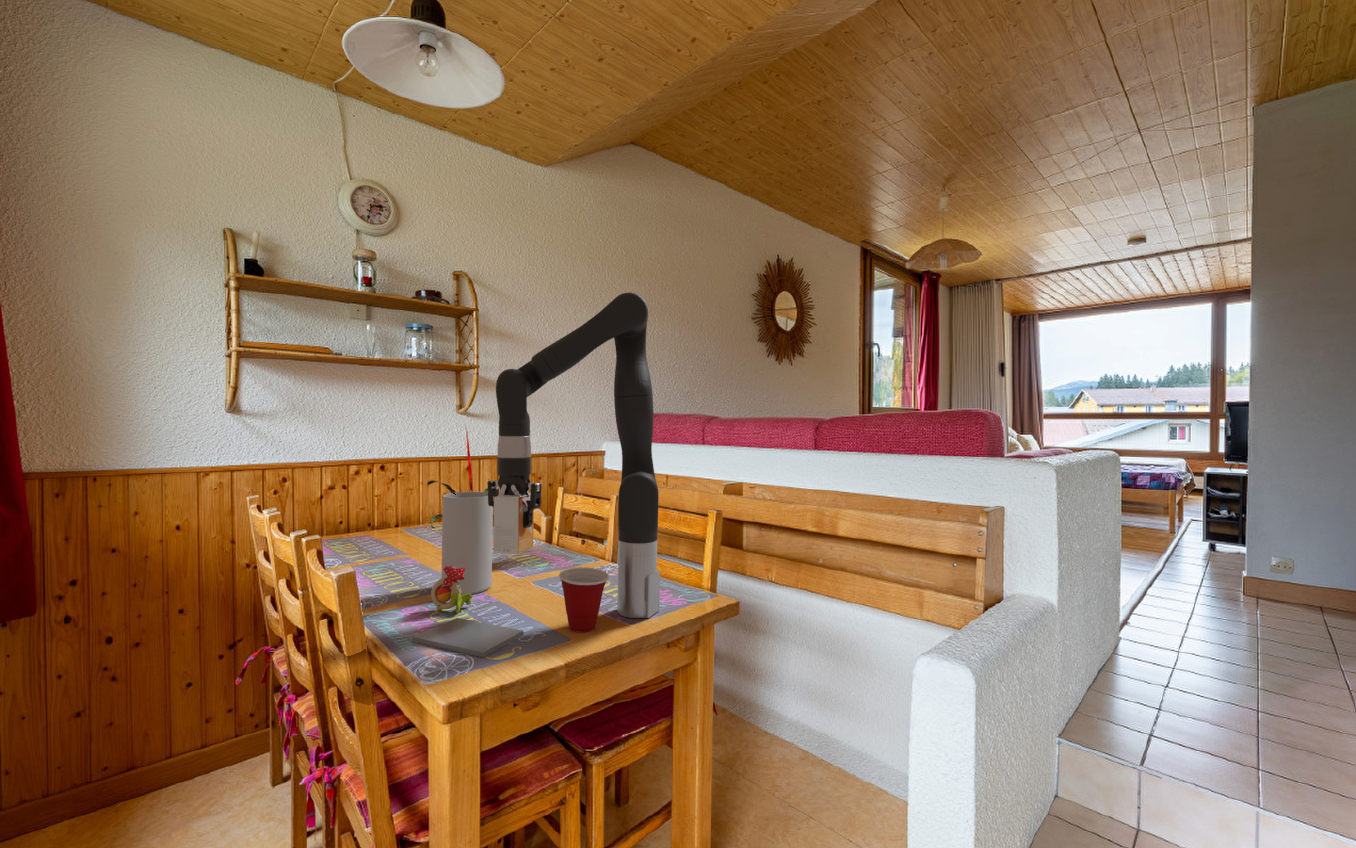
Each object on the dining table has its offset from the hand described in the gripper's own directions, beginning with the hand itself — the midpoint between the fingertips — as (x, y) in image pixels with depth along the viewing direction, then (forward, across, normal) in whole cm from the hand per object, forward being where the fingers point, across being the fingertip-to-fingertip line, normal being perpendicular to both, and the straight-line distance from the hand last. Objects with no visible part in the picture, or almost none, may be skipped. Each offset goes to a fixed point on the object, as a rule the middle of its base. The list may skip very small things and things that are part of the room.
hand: (514, 526), depth 130 cm
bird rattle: (+20, +14, +5) cm, 25 cm away
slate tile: (+20, -2, +16) cm, 26 cm away
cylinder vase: (+20, +23, -10) cm, 33 cm away
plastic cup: (+21, -20, +1) cm, 29 cm away
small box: (+6, 0, 0) cm, 6 cm away
